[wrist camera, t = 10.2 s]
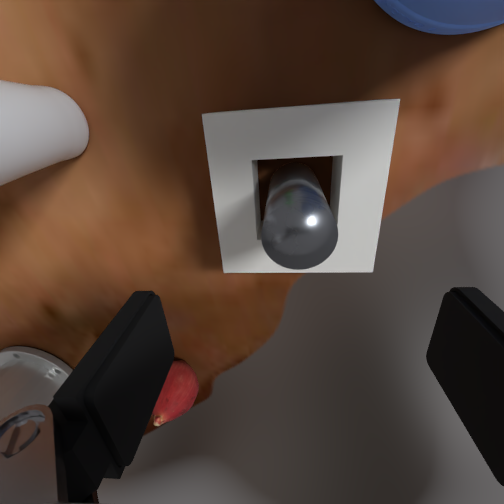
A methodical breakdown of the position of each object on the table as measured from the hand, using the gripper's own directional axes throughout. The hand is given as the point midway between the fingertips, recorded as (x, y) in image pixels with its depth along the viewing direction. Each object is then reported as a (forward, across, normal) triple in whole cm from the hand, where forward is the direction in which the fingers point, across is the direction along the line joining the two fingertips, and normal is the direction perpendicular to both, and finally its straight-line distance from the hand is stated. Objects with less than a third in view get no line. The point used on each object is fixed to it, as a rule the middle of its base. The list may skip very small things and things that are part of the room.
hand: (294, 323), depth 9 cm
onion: (+17, +13, +21) cm, 30 cm away
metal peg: (+16, -1, -1) cm, 16 cm away
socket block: (+16, -1, -1) cm, 16 cm away
